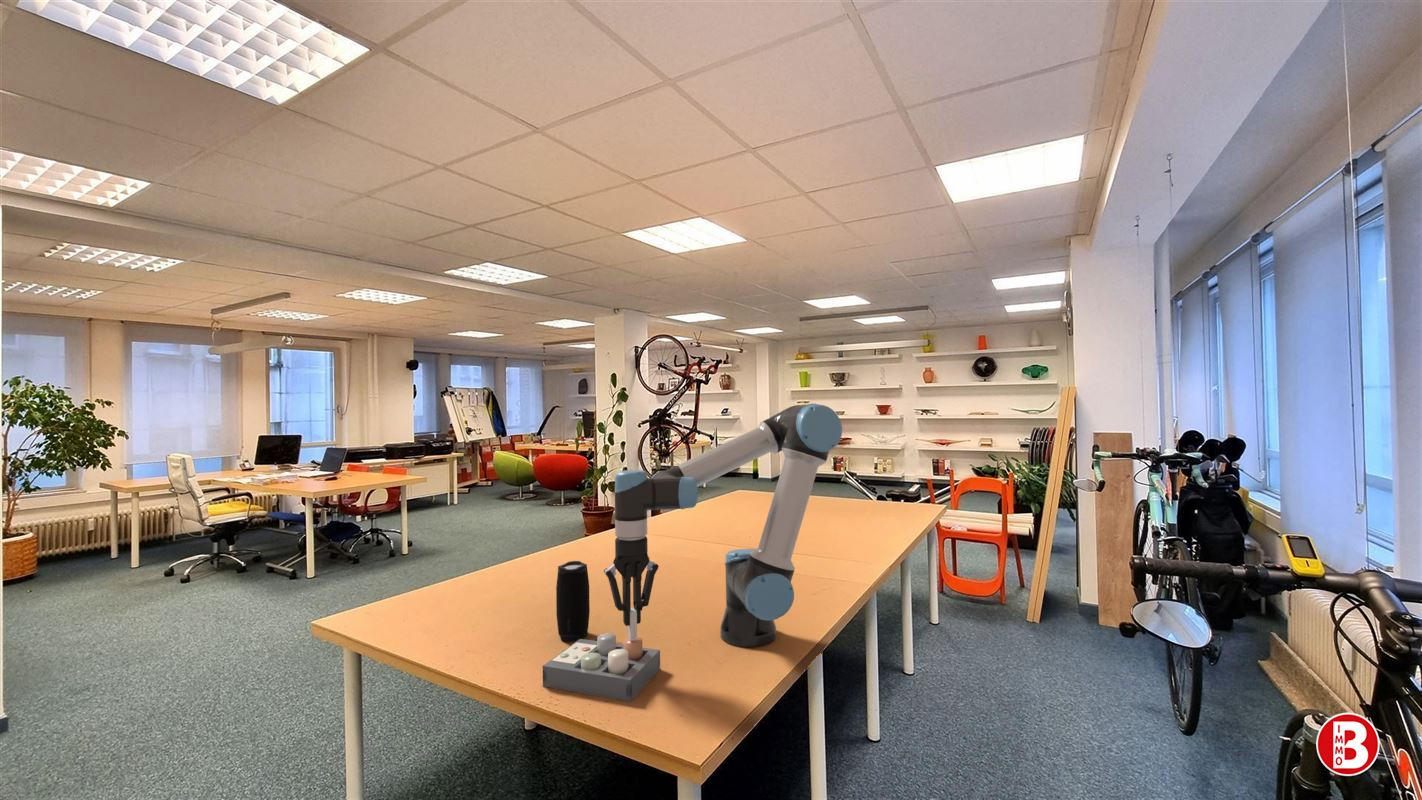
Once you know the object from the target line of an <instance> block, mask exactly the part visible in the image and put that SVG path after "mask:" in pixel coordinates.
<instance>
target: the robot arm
mask: <svg viewBox="0 0 1422 800" xmlns="http://www.w3.org/2000/svg"><path fill="white" fill-rule="evenodd" d="M842 435H843V425H842V421H841V419H840V418H839V416H838V414H837V413H836V411H835V410H833V409H832V408H830V407H829V406H828V405H824V404H819V403H809V404H797V405H793V406H789V407H787V408H785V409H783V410H782V411H780V412H778V413H776V414H774V415H772V416H770V417H769V418H767V419H764V420H763V421H761V422H759V424H758V427H756V428H754V429H751V430H750V431H748V432H745V433H743V434H741V435H739V436H737V437H734V438H733V439H730V440H729V441H726V442H724V443H722V444H720V445H718V446H716V447H714V448H711V449H710V450H707V451H705V452H703V453H701V454H699V455H696V456H694V457H692V458H689V459H687V460H686V461H684V462H681V463H679V464H678V465H675V466H673V467H670V468H668V469H666V470H660V471H657V472H656V473H655V474H653V475H652V477H648V473H647V472H646V470H642V469H629V470H628V469H626V470H621V471H618V472H616V474H615V479H614V518H615V520H614V522H615V523H614V524H615V525H614V528H615V529H614V530H615V532H614V535H615V536H616V538H615V539H614V542H615V543H614V549H615V550H614V551H615V558H614V560H613V562H612V565H610V567H608V568H605V569H604V570H603V573H604V575H605V576H606V577H607V579H608V581H609V587H610V591H611V595H612V598H613V603H614V607H615V608H616V609H617V610H618V611H620V612H623V614H622V619H623V620H622V621H623V624H624V626H625V627H626V629H627V637H626V638H629V639H630V640H631V641H633V640H637V637H638V624H641V619H642V617H641V616H642V615H641V613H642V611H643V608H644V607H647V606H649V605H650V604H649V603H650V598H651V593H652V589H653V584H654V579H655V575H656V573H657V571H658V570H659V567H660V566H659V564H657V563H656V562H655V561H652V560H650V557H649V554H648V537H647V535H648V511H658V510H662V511H663V510H685V509H693V508H694V507H696V505H697V504H698V497H699V495H698V487H700V486H702V485H704V484H707V483H709V482H710V481H712V480H715V479H717V478H719V477H721V476H723V475H726V474H727V473H729V472H731V471H732V472H733V470H736V469H738V468H740V467H742V466H744V465H746V464H748V463H750V462H752V461H755V460H757V459H759V458H761V457H762V456H765V455H767V454H769V453H772V454H775V455H777V454H778V453H780V452H782V453H783V455H784V460H783V464H782V466H781V471H780V473H779V477H778V481H777V483H776V488H775V491H774V494H773V497H772V501H771V504H770V507H769V511H768V513H767V514H768V515H767V517H766V520H765V522H764V523H765V524H764V526H763V530H762V532H761V533H762V534H761V536H760V539H759V544H758V546H757V548H741V549H739V548H738V549H732V550H729V551H727V553H726V554H725V561H724V565H725V598H726V599H725V601H726V603H725V604H726V606H725V609H724V610H725V611H724V614H723V617H722V621H721V623H720V630H719V631H720V633H719V634H720V638H721V639H722V640H723V641H724V642H725V643H727V644H729V645H733V646H737V647H742V648H743V647H745V648H754V647H755V648H756V647H762V646H765V645H768V644H770V643H772V642H774V641H775V640H776V638H777V627H776V623H775V620H778V619H780V618H782V617H784V616H785V615H786V614H787V613H788V612H789V611H790V610H791V608H792V606H793V603H794V601H795V590H794V587H793V585H792V579H793V576H794V574H795V569H796V567H795V566H794V563H793V561H792V557H793V554H794V551H795V547H796V543H797V540H798V538H799V537H798V536H799V533H800V529H801V527H802V524H803V520H804V517H805V513H806V509H807V506H808V503H809V499H810V495H811V492H812V489H813V485H814V483H815V480H816V476H817V473H818V469H819V467H820V466H822V465H825V464H826V463H827V460H828V457H829V454H830V451H831V450H833V449H834V448H835V447H837V446H838V444H839V442H840V441H841V439H842ZM645 570H646V573H645V578H644V583H643V587H642V579H643V577H642V576H643V573H644V571H645ZM616 571H618V573H619V574H620V575H621V580H622V597H621V594H620V589H619V584H618V582H617V578H616V575H617V572H616ZM631 583H632V594H631ZM631 595H632V596H631ZM631 597H632V602H631ZM631 604H632V605H633V607H631Z"/></svg>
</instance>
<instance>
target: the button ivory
mask: <svg viewBox="0 0 1422 800" xmlns="http://www.w3.org/2000/svg"><path fill="white" fill-rule="evenodd" d="M628 671H629V670H628V651H627V650H624V649H616V650H613V651H610V652H609V653H608V673H610V674H617V675H624V674H625V673H627V672H628Z"/></svg>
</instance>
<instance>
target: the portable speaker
mask: <svg viewBox="0 0 1422 800" xmlns="http://www.w3.org/2000/svg"><path fill="white" fill-rule="evenodd" d="M587 566H588V565H587V564H586V563H584V562H582V561H580V560H572V561H571V560H570V561H568V562H566V563H563V564H561V565H558V566H557V578H556V587H555V590H556V595H555V596H556V597H555V598H556V599H555V603H556V613H555V614H556V621H557V622H556V623H557V624H556V625H557V633H558V636H559V637H560V638H561V641H563V642H564V643H565V642H568V643H569V642H571V643H572V642H576V641H578V640H579V639H580V637H583V636H585V637H587V636H588V633H589V631H588V630H589V622H590V609H591V608H590V580H589V572H588V567H587Z"/></svg>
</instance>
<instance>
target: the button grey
mask: <svg viewBox="0 0 1422 800" xmlns="http://www.w3.org/2000/svg"><path fill="white" fill-rule="evenodd" d="M596 639H597V640H596V641H597V653H599V654H600V655H601V656H607V657H608V653H609V652H610V651H613V650H616V644H617V635H616V634H615V633H610V632H609V633H607V632H606V633H603V634H599V635H598V636H597V637H596Z"/></svg>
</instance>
